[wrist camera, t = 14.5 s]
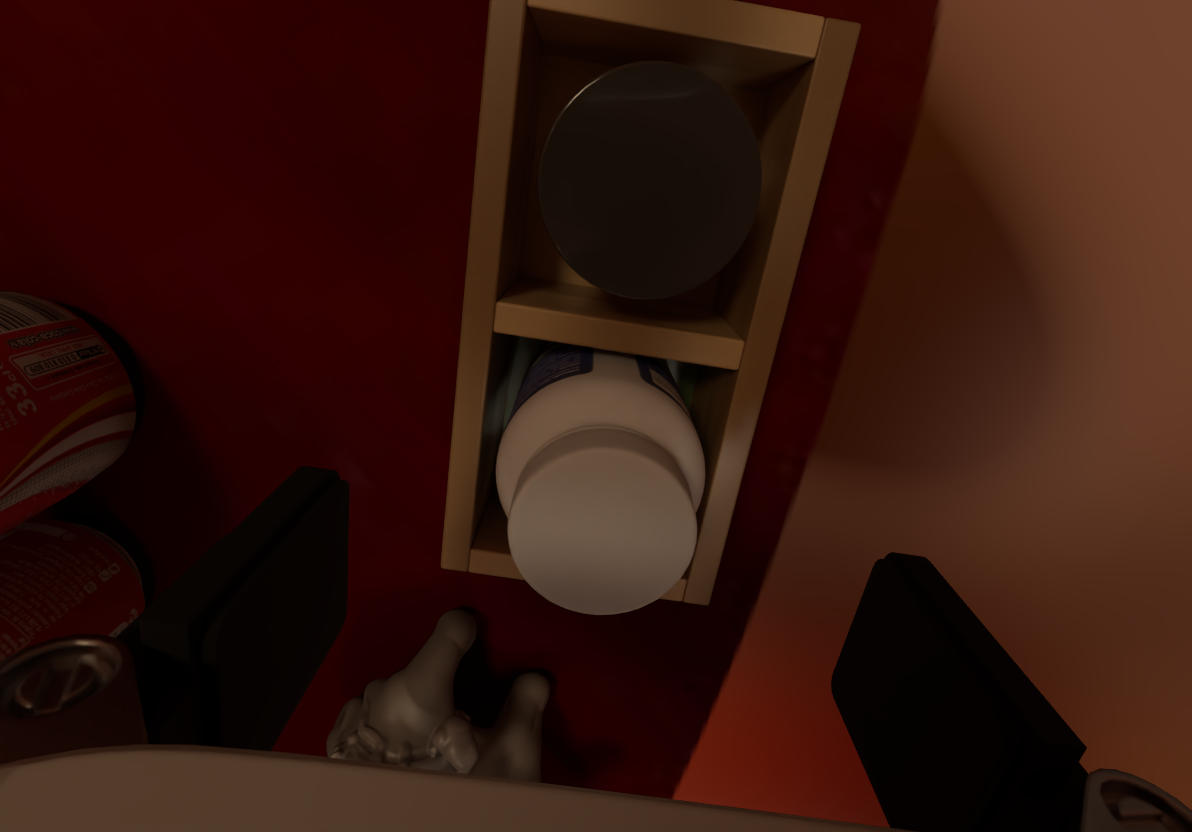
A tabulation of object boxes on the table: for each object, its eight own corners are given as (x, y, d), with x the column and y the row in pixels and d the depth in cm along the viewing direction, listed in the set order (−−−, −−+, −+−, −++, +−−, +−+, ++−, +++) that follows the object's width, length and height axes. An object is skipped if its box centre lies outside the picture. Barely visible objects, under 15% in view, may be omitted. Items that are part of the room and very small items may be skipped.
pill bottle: (517, 463, 22) (466, 630, 14) (526, 316, 20) (474, 404, 12) (666, 477, 22) (707, 650, 14) (688, 333, 20) (750, 430, 12)
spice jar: (568, 88, 18) (553, 39, 12) (729, 116, 18) (788, 81, 13) (546, 255, 20) (524, 282, 14) (695, 279, 20) (733, 316, 14)
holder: (476, 483, 23) (439, 569, 18) (523, 23, 18) (492, -46, 13) (684, 513, 24) (708, 606, 18) (788, 70, 19) (862, 22, 13)
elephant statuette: (404, 572, 25) (322, 731, 17) (673, 681, 26) (700, 867, 19) (331, 733, 27) (234, 928, 20) (577, 822, 29) (570, 1030, 22)
